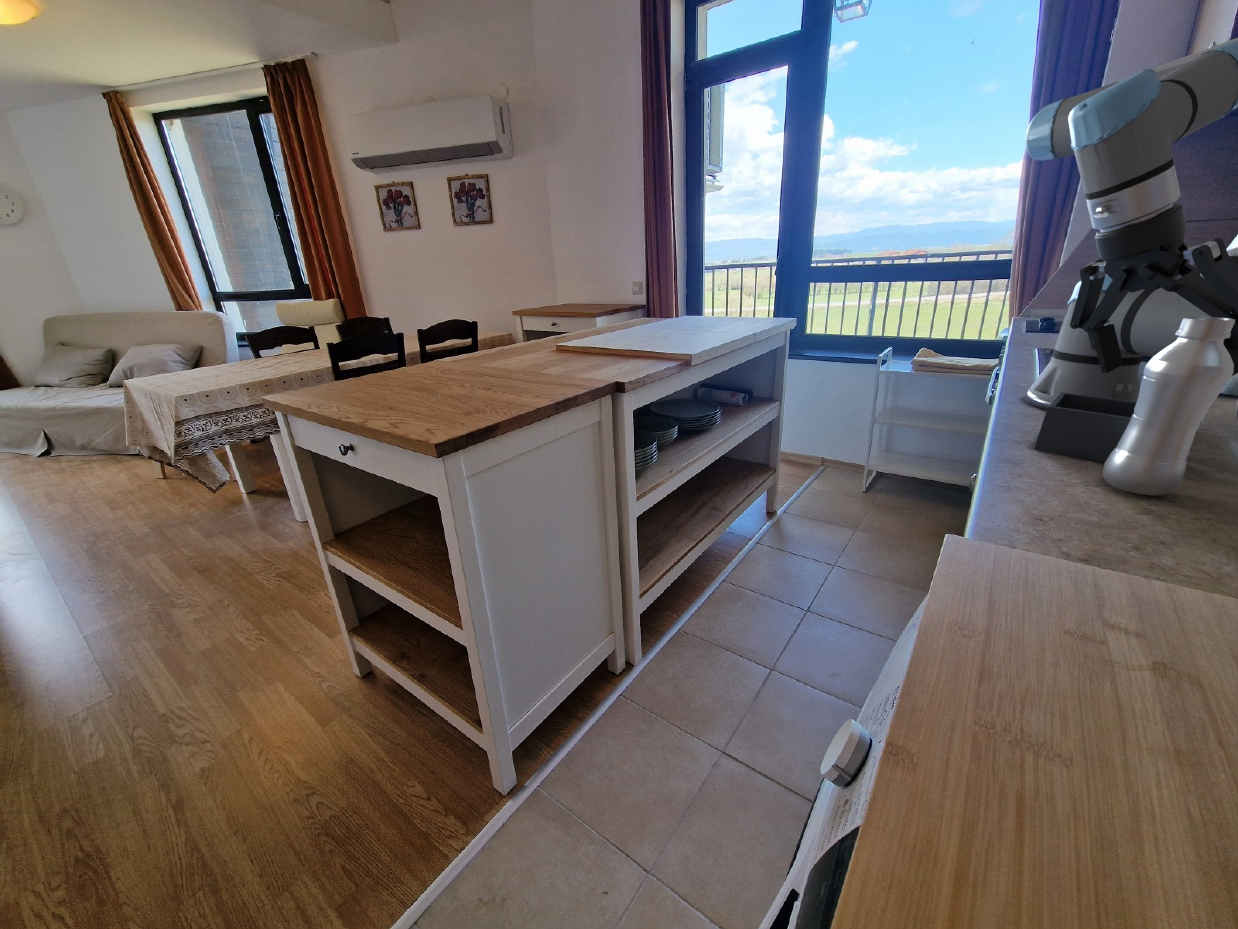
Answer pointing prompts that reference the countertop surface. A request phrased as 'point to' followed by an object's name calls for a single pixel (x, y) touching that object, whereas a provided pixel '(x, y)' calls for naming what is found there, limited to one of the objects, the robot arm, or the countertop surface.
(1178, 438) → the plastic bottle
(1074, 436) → the bin
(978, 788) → the countertop surface
